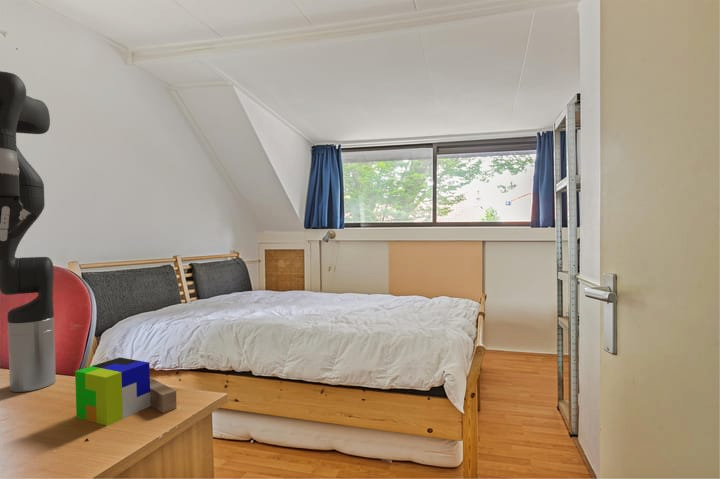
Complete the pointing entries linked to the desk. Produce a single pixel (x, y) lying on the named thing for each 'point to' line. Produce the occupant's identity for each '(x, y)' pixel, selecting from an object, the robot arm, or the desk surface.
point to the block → (162, 396)
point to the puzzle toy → (112, 390)
